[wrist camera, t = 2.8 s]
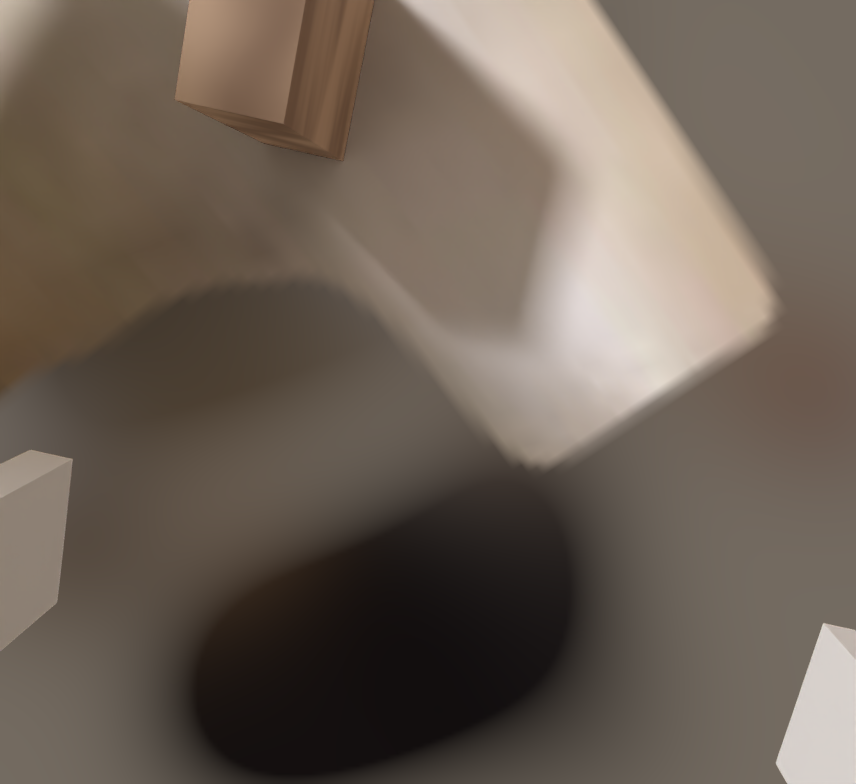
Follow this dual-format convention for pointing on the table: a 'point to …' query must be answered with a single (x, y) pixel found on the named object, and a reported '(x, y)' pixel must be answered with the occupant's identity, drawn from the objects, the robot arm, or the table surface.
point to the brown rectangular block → (276, 68)
